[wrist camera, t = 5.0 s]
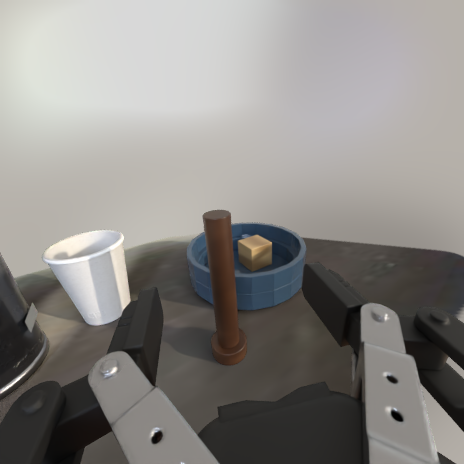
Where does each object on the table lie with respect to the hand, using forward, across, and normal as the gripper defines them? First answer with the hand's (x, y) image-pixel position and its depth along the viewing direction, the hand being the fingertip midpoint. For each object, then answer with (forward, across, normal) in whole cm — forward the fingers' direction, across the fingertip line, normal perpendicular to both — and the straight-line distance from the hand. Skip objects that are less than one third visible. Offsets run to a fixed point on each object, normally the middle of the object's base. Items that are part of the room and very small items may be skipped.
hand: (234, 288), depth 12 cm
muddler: (+7, 0, +13) cm, 15 cm away
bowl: (+20, -5, +13) cm, 24 cm away
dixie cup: (+17, +15, +13) cm, 26 cm away
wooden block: (+22, -7, +12) cm, 26 cm away
